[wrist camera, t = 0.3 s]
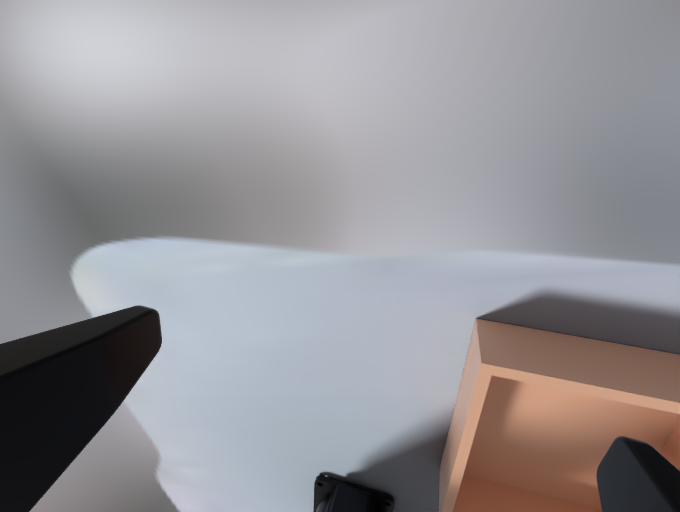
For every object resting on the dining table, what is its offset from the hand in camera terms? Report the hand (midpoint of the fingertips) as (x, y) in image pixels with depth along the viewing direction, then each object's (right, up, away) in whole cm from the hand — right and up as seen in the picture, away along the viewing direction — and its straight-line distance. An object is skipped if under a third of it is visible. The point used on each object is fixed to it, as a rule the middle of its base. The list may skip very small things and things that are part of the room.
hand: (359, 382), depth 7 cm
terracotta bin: (+13, -8, +16) cm, 22 cm away
